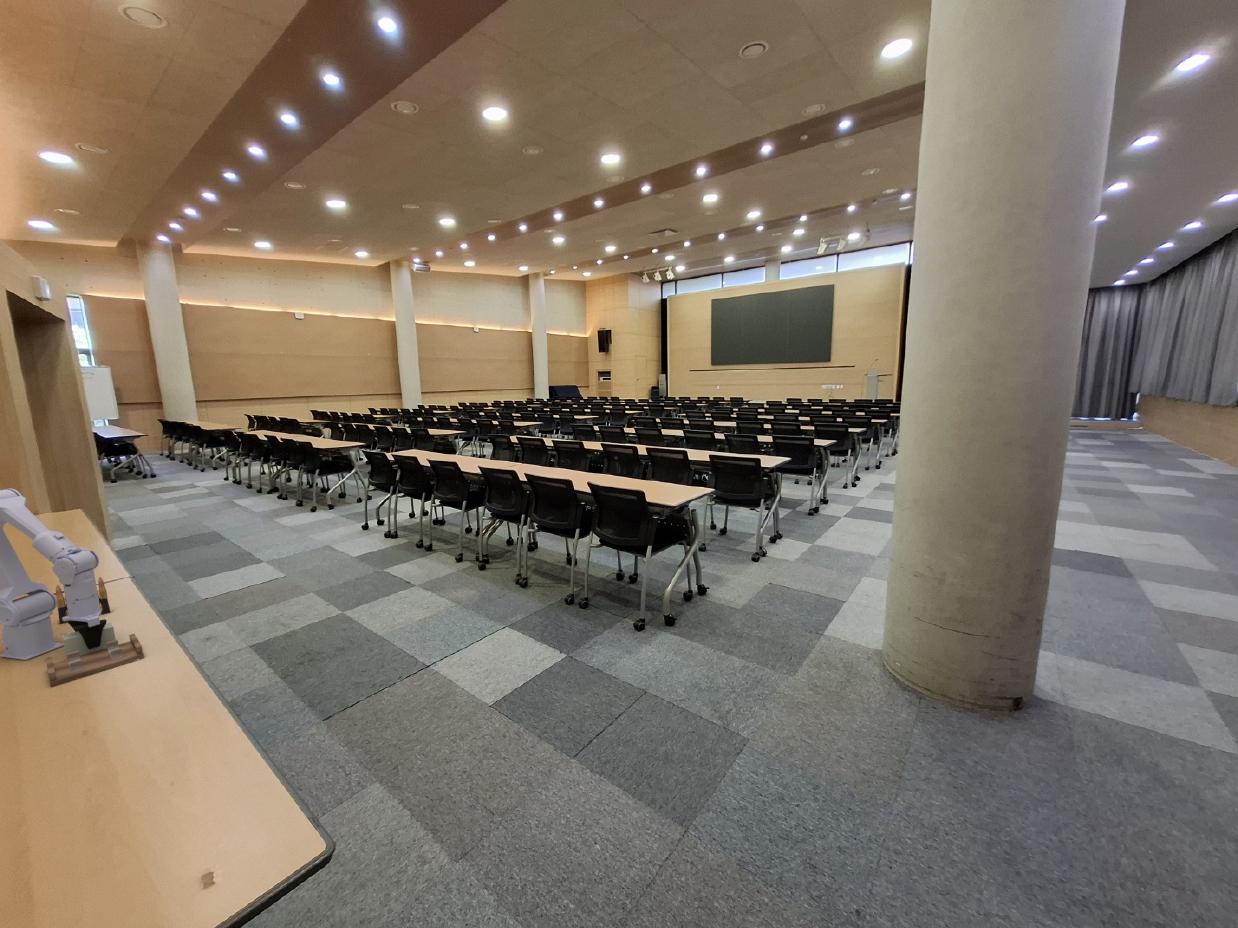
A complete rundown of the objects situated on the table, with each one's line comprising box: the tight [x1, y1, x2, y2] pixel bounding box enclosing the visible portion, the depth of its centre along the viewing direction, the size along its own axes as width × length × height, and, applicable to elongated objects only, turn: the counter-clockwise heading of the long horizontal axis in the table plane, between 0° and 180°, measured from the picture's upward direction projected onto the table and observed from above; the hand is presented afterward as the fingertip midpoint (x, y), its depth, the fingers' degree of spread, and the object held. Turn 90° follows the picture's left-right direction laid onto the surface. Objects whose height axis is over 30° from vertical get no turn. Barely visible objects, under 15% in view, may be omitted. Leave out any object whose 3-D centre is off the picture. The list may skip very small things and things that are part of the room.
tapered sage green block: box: [61, 622, 116, 660], centre depth 131 cm, size 4×9×6 cm, turn 142°
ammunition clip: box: [55, 576, 112, 625], centre depth 151 cm, size 11×2×12 cm, turn 136°
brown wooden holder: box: [45, 633, 145, 688], centre depth 125 cm, size 12×16×4 cm
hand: (90, 644), depth 131 cm, fingers open, 5 cm apart
